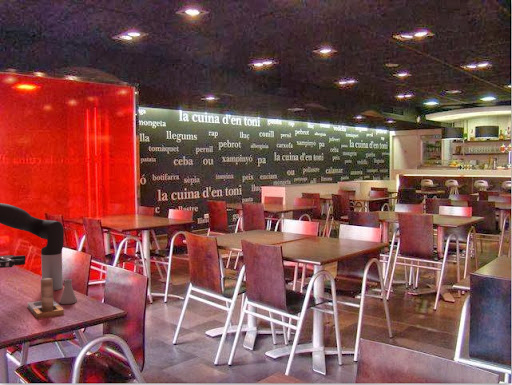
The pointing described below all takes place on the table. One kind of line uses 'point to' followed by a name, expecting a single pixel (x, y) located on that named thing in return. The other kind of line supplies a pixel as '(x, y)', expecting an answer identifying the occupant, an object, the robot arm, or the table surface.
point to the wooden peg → (47, 294)
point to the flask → (68, 293)
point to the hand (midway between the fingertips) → (25, 259)
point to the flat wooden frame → (37, 311)
